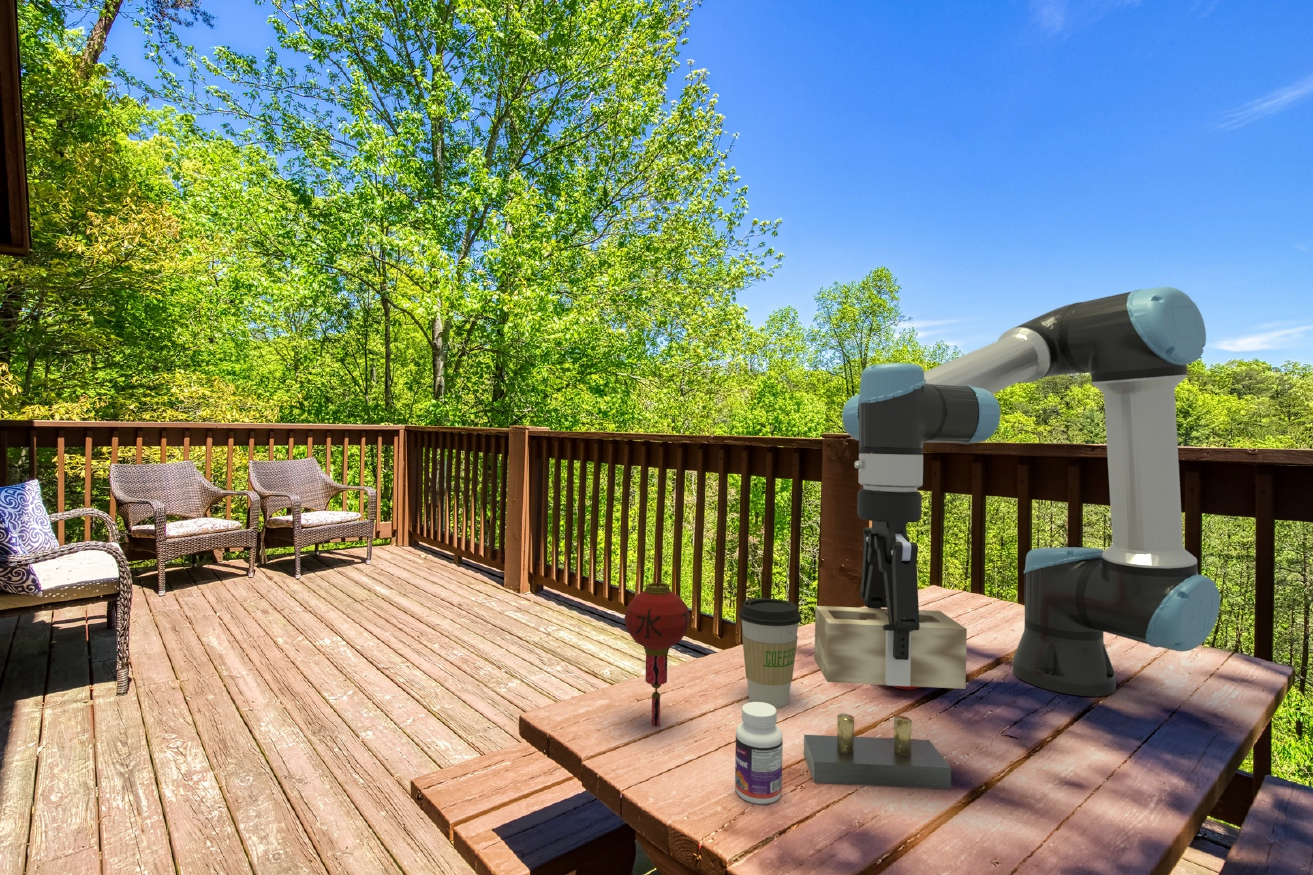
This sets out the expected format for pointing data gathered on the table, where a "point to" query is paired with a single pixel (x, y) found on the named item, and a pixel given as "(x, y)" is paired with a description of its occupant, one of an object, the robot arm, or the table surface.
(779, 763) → the pill bottle
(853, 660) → the cinder block
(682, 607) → the lantern
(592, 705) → the table surface
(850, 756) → the post rail
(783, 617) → the coffee cup
